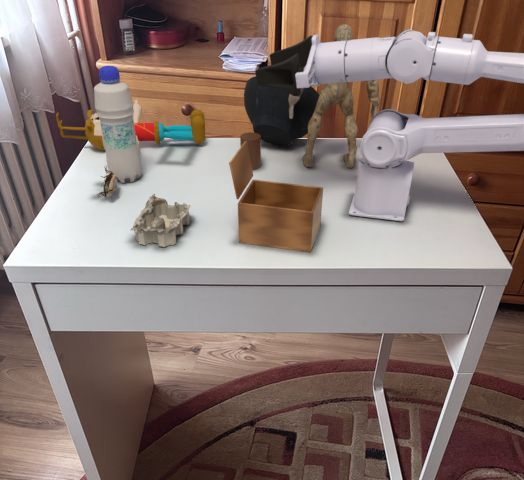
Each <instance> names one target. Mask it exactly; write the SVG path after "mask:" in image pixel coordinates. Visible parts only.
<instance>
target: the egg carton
mask: <svg viewBox="0 0 524 480" xmlns="http://www.w3.org/2000/svg"><path fill="white" fill-rule="evenodd" d="M173 203H174V205H173V204H168V201H167V199H165V198H163V197H158V196H156V193H153V194H152V195H151V196H150V197H149V199H147V201H146V202H145V207H144V208H143V209H142V210H141V211H140V214H139V215H138V217H136V218H135V221H134V223H133V226H132V227H131V228H130V231H133V232H134V233H135V241H137V242H138V244H139V245H143V246H146V245H148V244H152V243H153V244H154V243H155V244H157V245H158V247H162V248H165V247H168V246H175V245H176V244H177V236H178V235H183V234H184V226H188V225H189V224H190V222H191V221H190V220H191V219H190V211H189V210H190V208H191V204H187V203H185V202H182V204H181V203H178V202H177V201H174V202H173Z"/></svg>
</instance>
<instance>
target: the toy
mask: <svg viewBox="0 0 524 480" xmlns="http://www.w3.org/2000/svg"><path fill="white" fill-rule="evenodd" d="M133 110H134V113H133V121H134V128H135V135H136V141H137V147H138V152H139V153H140V142H154V143H155V145H157V146H159V145H160V144H161V143H162V142H164V141H165V138H166V139H171V140H176V141H192V142H193V143H195V144H196V145H202V144H203V143H204V142H205V140H206V122H205V114H204V112H203V111H202V110H201V109H193V110H192V111H191V113H190V125H183V124H181V125H180V124H174V125H167V126H165V125H164V124H163V123H162V122H159V121H158V120H157V121H154V122H140V121H141V117H142V116H141V115H142V111H143V107H142V105H140V104H139V101H138V99H134V103H133ZM94 112H95V113H94ZM59 115H60V113H59V112H58V111H57V113H56V114H55V118H56V123H57V128H59V133H60V136H61V137H62V138H64V139H75V140H87V141H88V142H89V144H90V145H91V146H93V148H96V149H97V150H101V151H106V150H105V145H104V139H103V134H102V129H101V124H100V119H99V117H98V116H97V111H94V109H88V110H87V113H86V117H87V119H86V120H85V125H84V127H80V126H63V125H62V124H63V119H61V120H60V117H59ZM64 130H69V131H80V132H81V131H82V132H84V134H85V135H66V134H65V132H64Z"/></svg>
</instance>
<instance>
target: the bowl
mask: <svg viewBox="0 0 524 480" xmlns="http://www.w3.org/2000/svg"><path fill="white" fill-rule="evenodd" d="M319 96H320V92H318V91H317V90H316V89H315V88H314V86H310V87H309V88H304V90H303V92H302V94H301V96H300V98H299V100H298V101H297V103H296V104H295V105H294V109H293V118H292V119H290V118H289V107H290V106H289V101H288V99H289V93H287V92H285V91H283V90H280V89H276V88H271V87H266V86H261V85H258V84H257V79H256V75H255V76H252V77H250V78H249V79H247V81H246V83H245V87H244V90H243V103H244V111H245V112H246V116H247V118H248V119H249V121H250V123H251V125H252V130H253V133H258V134H260V136H261V142H264V143H266V144H269V145H271V146H274V147H283V148H285V147H288V146H291V145H292V144H293V143H294V142H295V141H297V140H299V139H302V138H304V137H305V136H306V135H308V123H309V121H310V119H311V117H312V116H313V113H314V111H315V108H316V104H317V101H318V98H319Z"/></svg>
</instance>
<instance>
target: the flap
mask: <svg viewBox="0 0 524 480" xmlns="http://www.w3.org/2000/svg"><path fill="white" fill-rule="evenodd" d="M228 165H229V170H230V173H231V179H232V183H233V189H234V193H235V197H236V200H240V199H241V197H242V195H243V194H244V192H245V191H246V189H247V188H248V186H249V184H250V183H251V181H252V180H253V177H254V172H253V171H254V170H252V166H251V160H250V155H249V149H248V144H247V141H245V142H244V143H243V145H242V146H241V145H240V146H239V148H238V150H237V151H236V153H235V154H234V155H233V156H232V158H231V159H230V161H229V162H228Z"/></svg>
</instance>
